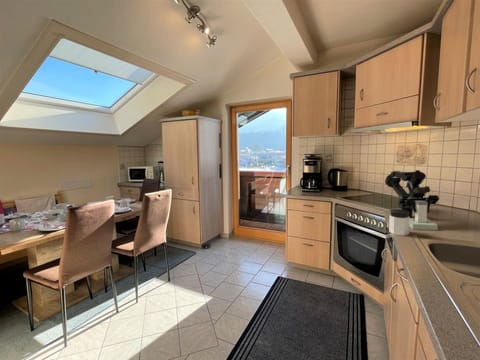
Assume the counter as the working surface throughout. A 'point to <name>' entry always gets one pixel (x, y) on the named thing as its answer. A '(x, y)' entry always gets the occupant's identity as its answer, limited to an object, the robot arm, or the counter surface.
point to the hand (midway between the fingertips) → (422, 212)
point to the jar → (399, 222)
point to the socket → (422, 225)
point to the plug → (421, 211)
